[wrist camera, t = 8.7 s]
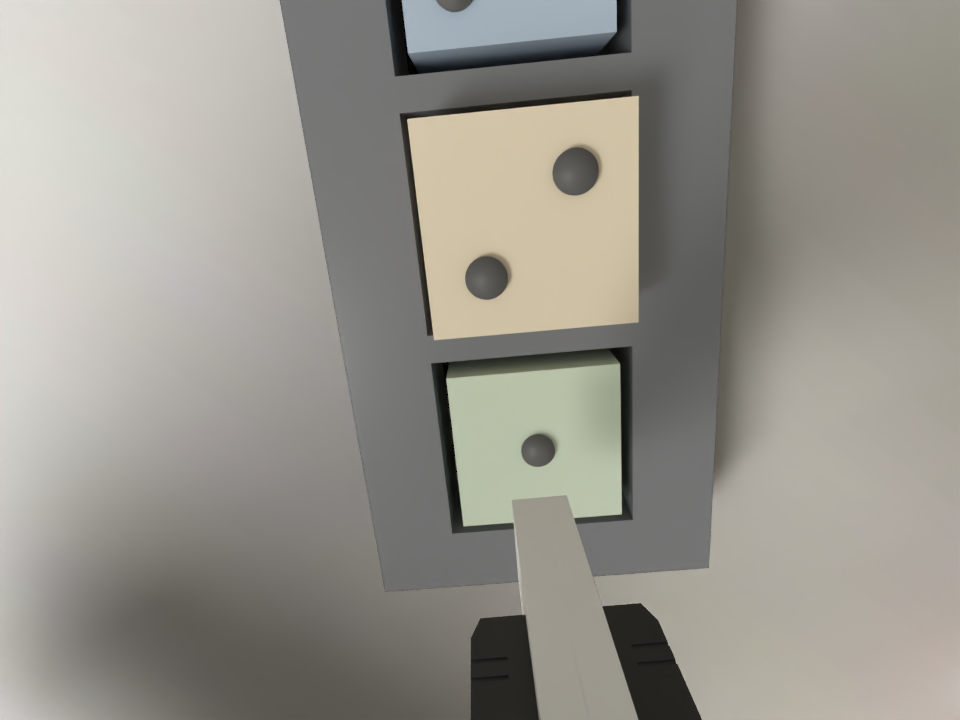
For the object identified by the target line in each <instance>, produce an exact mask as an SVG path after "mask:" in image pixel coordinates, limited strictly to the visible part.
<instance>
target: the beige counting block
mask: <svg viewBox="0 0 960 720" xmlns="http://www.w3.org/2000/svg"><path fill="white" fill-rule="evenodd" d="M407 123H408V131H409V139H410V147H411V155H412V164H413V172H414V180H415V188H416V196H417V205H418V213H419V221H420V229H421V237H422V246H423V254H424V262H425V270H426V278H427V287H428V295H429V303H430V311H431V319H432V328H433V336H434V340H443V339H454V338H466V337H477V336H489V335H500V334H512V333H523V332H534V331H546V330H557V329H569V328H580V327H592V326H603V325H614V324H626V323H637V322H639V96H632V97H622V98H612V99H602V100H592V101H582V102H572V103H562V104H552V105H542V106H532V107H522V108H512V109H502V110H492V111H482V112H472V113H462V114H452V115H442V116H432V117H422V118H412V119H407Z"/></svg>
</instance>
